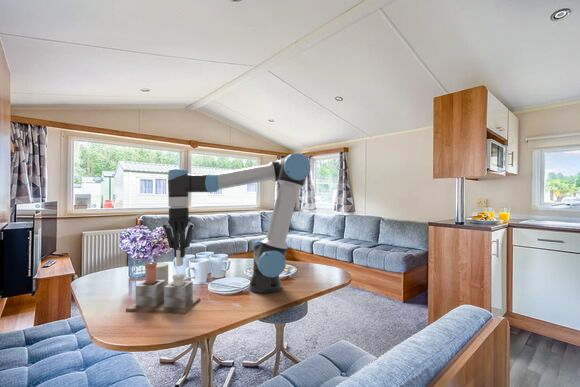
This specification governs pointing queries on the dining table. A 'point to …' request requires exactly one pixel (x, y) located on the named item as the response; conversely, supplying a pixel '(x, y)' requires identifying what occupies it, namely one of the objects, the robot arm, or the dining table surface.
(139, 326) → the dining table surface
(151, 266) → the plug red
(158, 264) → the beige rectangular block
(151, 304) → the socket board
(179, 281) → the plug cream
